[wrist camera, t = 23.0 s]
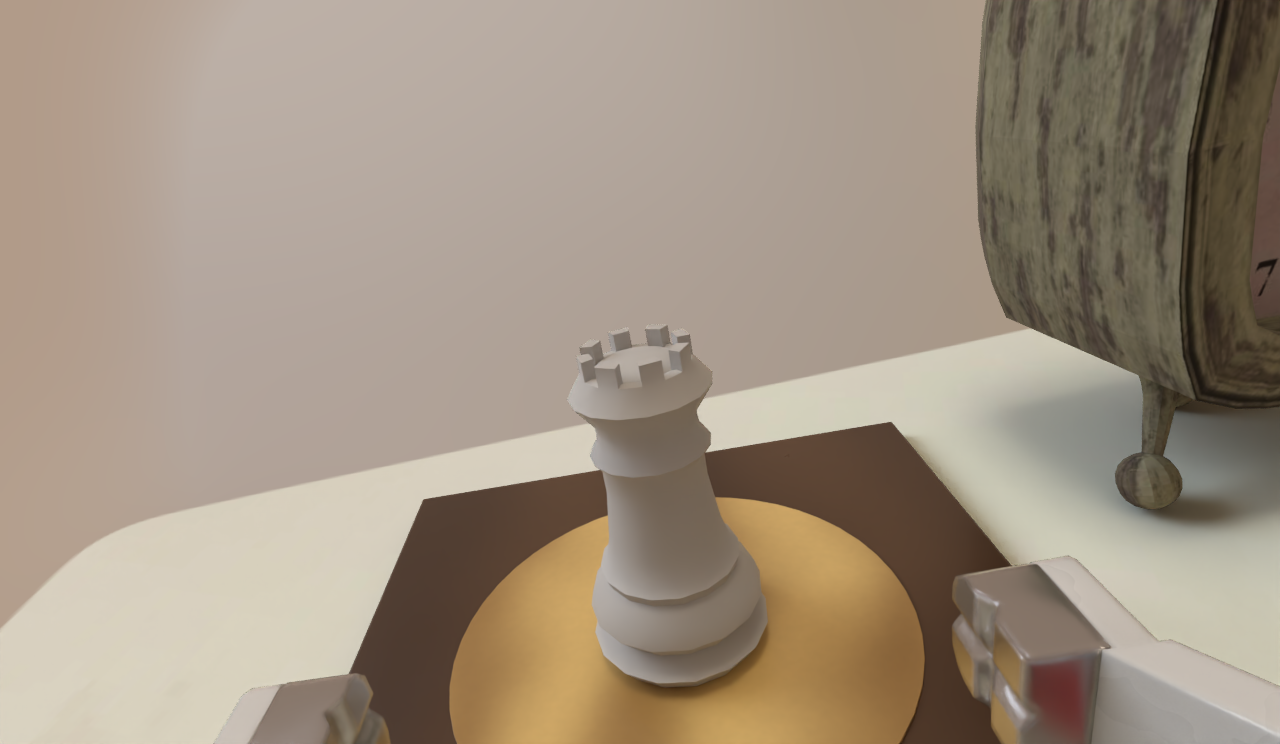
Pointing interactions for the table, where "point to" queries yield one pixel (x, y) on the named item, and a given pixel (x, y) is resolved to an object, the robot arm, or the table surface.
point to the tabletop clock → (1138, 196)
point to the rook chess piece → (663, 517)
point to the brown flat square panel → (754, 689)
